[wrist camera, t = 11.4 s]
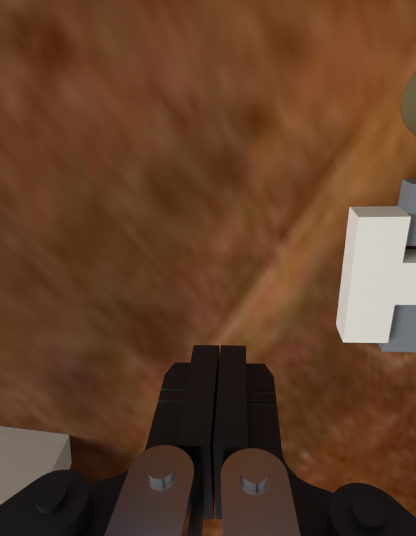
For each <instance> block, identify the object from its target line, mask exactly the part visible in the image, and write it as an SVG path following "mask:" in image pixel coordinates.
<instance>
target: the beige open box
mask: <svg viewBox="0 0 416 536" xmlns="http://www.w3.org/2000/svg"><path fill="white" fill-rule="evenodd" d="M71 464H72V460H71V449H70V438H69V435H67V434H59V433H51V432H43V431H34V430H26V429H18V428H10V427H2V426H0V505H1V504H2V503H4V502H5V501H6V500H8V499H9V498H11V497H12V496H13V495H15V494H16V493H18V492H19V491H20V490H22V489H23V488H25V487H26V486H27V485H29V484H30V483H32V482H33V481H35V480H36V479H38V478H39V477H41V476H43V475H45V474H47V473H49V472H52V471H56V470H64V469H66V470H69V469H70V466H71Z"/></svg>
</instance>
